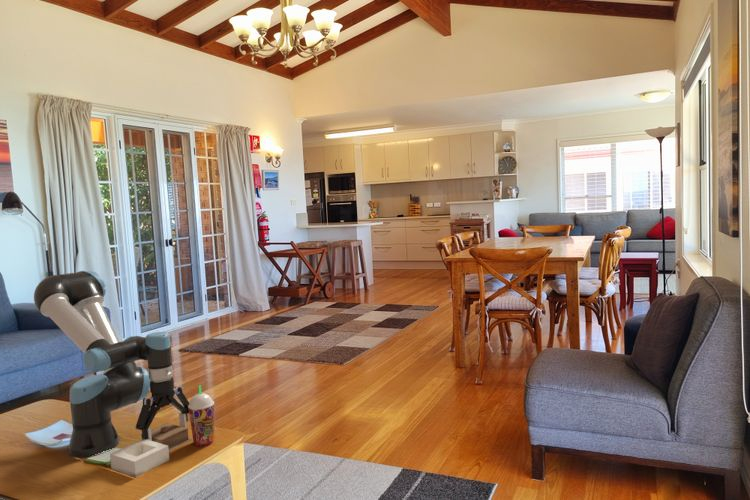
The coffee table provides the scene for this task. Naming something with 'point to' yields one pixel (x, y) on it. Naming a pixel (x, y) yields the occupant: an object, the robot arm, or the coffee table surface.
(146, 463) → the dish
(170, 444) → the lid
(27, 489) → the coffee table surface
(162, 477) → the coffee table surface
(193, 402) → the smoothie
